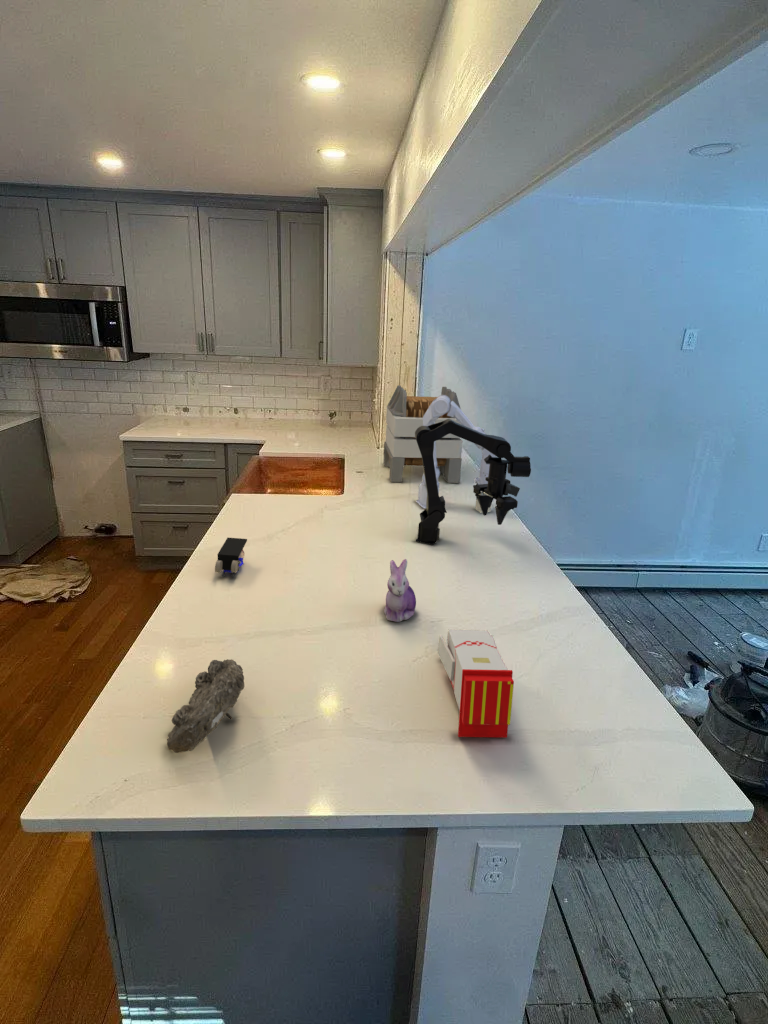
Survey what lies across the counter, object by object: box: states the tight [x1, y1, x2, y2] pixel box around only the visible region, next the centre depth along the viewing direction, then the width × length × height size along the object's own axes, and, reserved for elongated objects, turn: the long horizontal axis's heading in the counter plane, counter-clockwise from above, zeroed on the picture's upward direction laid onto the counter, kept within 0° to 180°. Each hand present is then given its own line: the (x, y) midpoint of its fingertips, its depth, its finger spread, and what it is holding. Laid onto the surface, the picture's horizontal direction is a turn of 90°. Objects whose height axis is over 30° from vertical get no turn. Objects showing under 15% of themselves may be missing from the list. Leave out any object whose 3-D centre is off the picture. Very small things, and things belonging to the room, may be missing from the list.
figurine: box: [384, 558, 417, 623], centre depth 145 cm, size 9×10×15 cm
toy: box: [437, 628, 515, 738], centre depth 117 cm, size 12×13×30 cm
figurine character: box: [214, 537, 248, 578], centre depth 166 cm, size 7×8×15 cm
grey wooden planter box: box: [383, 384, 464, 484], centre depth 268 cm, size 34×33×41 cm
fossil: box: [166, 658, 245, 754], centre depth 106 cm, size 22×10×15 cm
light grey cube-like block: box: [474, 499, 493, 514], centre depth 227 cm, size 4×5×4 cm
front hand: (492, 519), depth 193 cm, fingers open, 9 cm apart
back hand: (483, 504), depth 226 cm, fingers open, 5 cm apart
